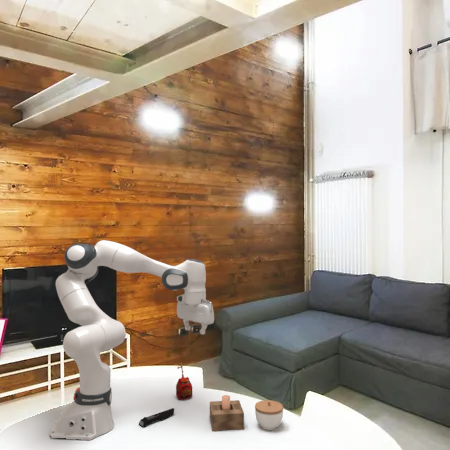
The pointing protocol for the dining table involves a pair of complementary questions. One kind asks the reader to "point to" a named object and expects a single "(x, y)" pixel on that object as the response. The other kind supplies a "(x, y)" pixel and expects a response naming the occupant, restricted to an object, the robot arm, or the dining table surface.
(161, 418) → the electric trimmer
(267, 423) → the lidded jar
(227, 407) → the peg
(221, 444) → the dining table surface
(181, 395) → the red clay folk toy
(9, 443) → the dining table surface
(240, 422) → the socket block
